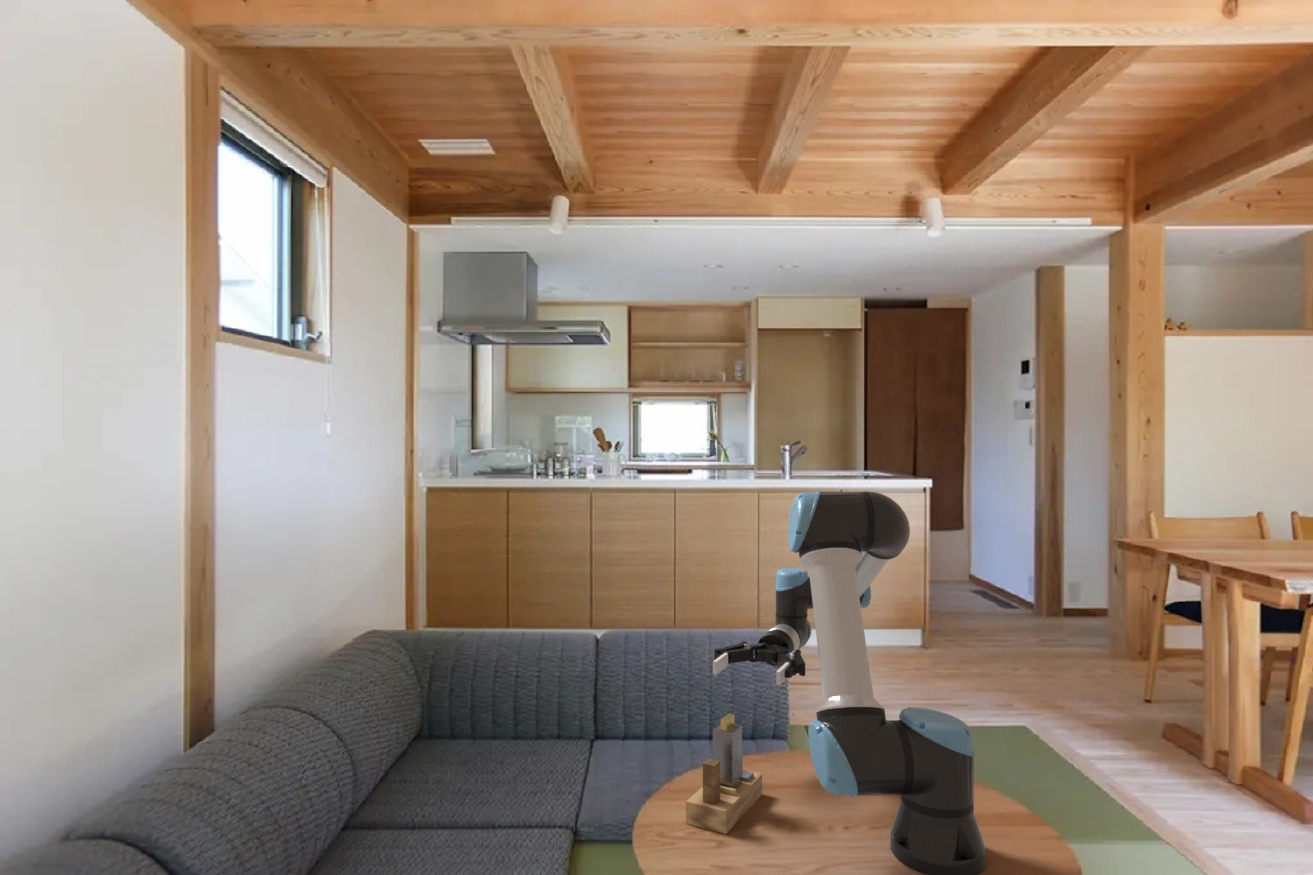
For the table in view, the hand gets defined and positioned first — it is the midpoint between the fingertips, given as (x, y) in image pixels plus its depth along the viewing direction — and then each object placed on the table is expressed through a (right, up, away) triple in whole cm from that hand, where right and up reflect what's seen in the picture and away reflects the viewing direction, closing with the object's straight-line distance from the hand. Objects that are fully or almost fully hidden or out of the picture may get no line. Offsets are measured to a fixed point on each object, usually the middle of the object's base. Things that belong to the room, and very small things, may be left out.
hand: (745, 673), depth 153 cm
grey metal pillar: (-4, -19, -8) cm, 21 cm away
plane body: (-5, -23, -9) cm, 25 cm away
